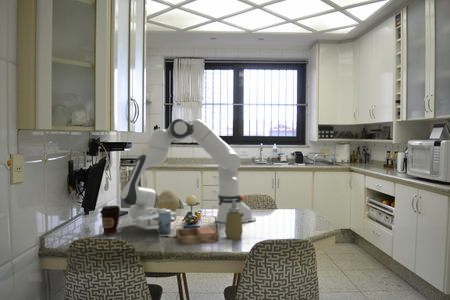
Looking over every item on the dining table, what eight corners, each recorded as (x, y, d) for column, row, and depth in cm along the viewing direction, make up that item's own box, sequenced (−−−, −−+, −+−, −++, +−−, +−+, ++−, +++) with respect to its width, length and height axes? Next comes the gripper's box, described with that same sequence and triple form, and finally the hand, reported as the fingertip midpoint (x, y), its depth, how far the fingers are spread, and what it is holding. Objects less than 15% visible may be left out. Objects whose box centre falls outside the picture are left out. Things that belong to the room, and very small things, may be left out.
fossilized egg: (157, 216, 182) (157, 191, 181) (157, 212, 194) (157, 188, 193) (179, 215, 185) (179, 190, 184) (177, 211, 197) (177, 187, 196)
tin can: (170, 233, 150) (170, 208, 149) (171, 236, 144) (171, 211, 144) (158, 234, 148) (158, 209, 148) (159, 237, 143) (159, 211, 143)
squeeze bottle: (224, 236, 145) (224, 198, 145) (241, 236, 146) (241, 198, 145) (225, 242, 137) (225, 201, 137) (243, 242, 138) (244, 201, 137)
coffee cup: (113, 236, 144) (113, 209, 143) (97, 235, 145) (97, 208, 145) (123, 231, 152) (123, 205, 152) (107, 230, 154) (107, 204, 153)
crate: (212, 234, 149) (212, 227, 149) (218, 243, 136) (218, 235, 136) (176, 236, 144) (176, 229, 144) (179, 246, 132) (179, 237, 132)
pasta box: (210, 233, 147) (210, 226, 147) (215, 240, 137) (215, 232, 137) (196, 234, 145) (196, 227, 145) (200, 241, 136) (200, 233, 136)
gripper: (130, 213, 148) (146, 219, 138) (167, 207, 162) (183, 211, 153) (131, 226, 148) (146, 233, 138) (167, 219, 163) (183, 224, 153)
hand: (165, 221), depth 146 cm, fingers open, 7 cm apart
